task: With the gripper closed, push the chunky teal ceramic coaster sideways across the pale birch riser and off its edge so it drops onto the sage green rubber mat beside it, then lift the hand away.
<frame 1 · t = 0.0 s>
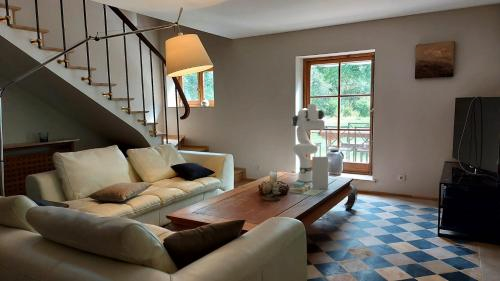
hand: (314, 134, 323), 52 cm above the table, tool tilted 20°, fingers open, 8 cm apart
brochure: (320, 188, 331), on the table
coaster: (299, 186, 324), point 4 cm above the table, touching riser
riser: (300, 190, 324), on the table
mat: (313, 192, 316), on the table
owl figurine: (271, 199, 298), on the table
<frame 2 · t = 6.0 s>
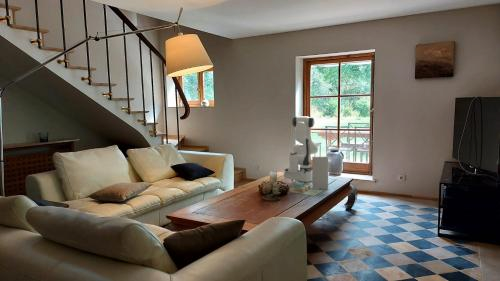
hand: (294, 184, 327), 6 cm above the table, tool pointing down, fingers closed
coaster: (299, 186, 324), point 4 cm above the table, touching gripper
everything else where it was.
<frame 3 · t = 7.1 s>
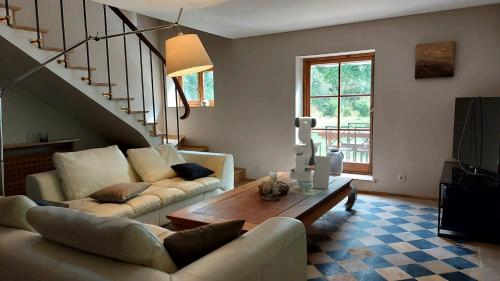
hand: (300, 184, 323), 6 cm above the table, tool pointing down, fingers closed
coaster: (305, 187, 320), point 4 cm above the table, touching gripper, riser
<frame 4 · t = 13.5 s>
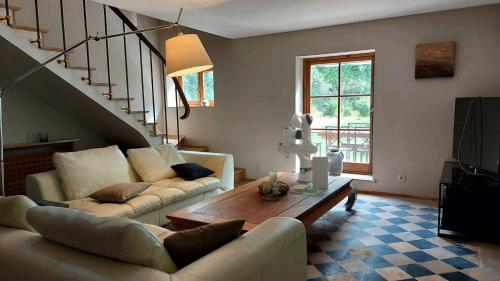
hand: (287, 157, 336), 29 cm above the table, tool pointing down, fingers closed
coaster: (311, 191, 317), resting on mat
at the end: coaster inside the target area on the mat (1.8 cm from its centre), point 0.5 cm above the mat's base; coaster point 0.5 cm above the table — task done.
